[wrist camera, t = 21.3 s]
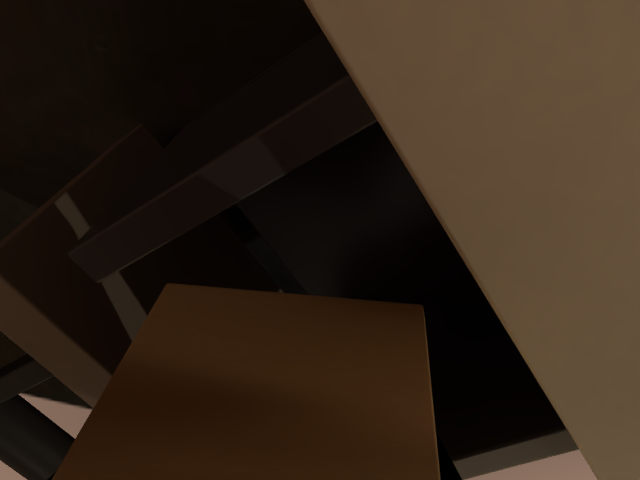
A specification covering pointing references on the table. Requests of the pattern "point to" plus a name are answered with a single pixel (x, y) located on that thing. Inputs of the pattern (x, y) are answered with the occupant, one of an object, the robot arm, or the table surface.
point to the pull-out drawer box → (245, 271)
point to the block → (265, 392)
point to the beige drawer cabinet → (526, 177)
